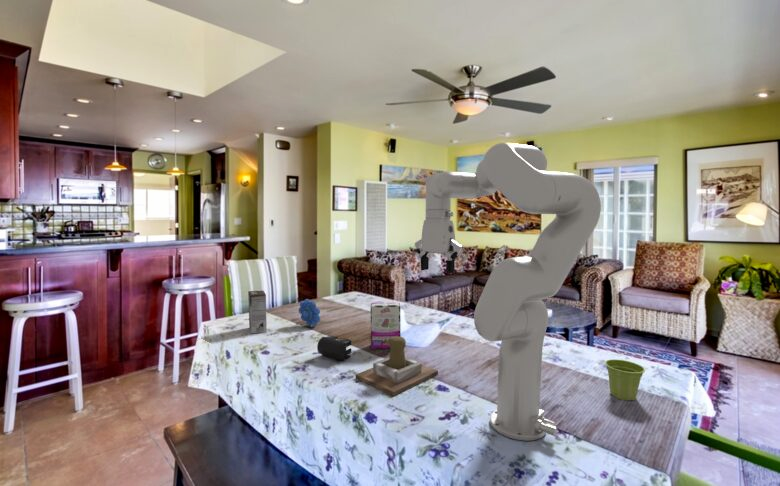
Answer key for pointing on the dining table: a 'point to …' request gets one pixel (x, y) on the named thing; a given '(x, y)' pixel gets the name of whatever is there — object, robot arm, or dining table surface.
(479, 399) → the dining table surface
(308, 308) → the blue scalloped wheel
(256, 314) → the coffee box
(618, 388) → the plant pot
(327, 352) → the end cap
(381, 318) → the candy bar box
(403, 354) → the cork
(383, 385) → the socket board
